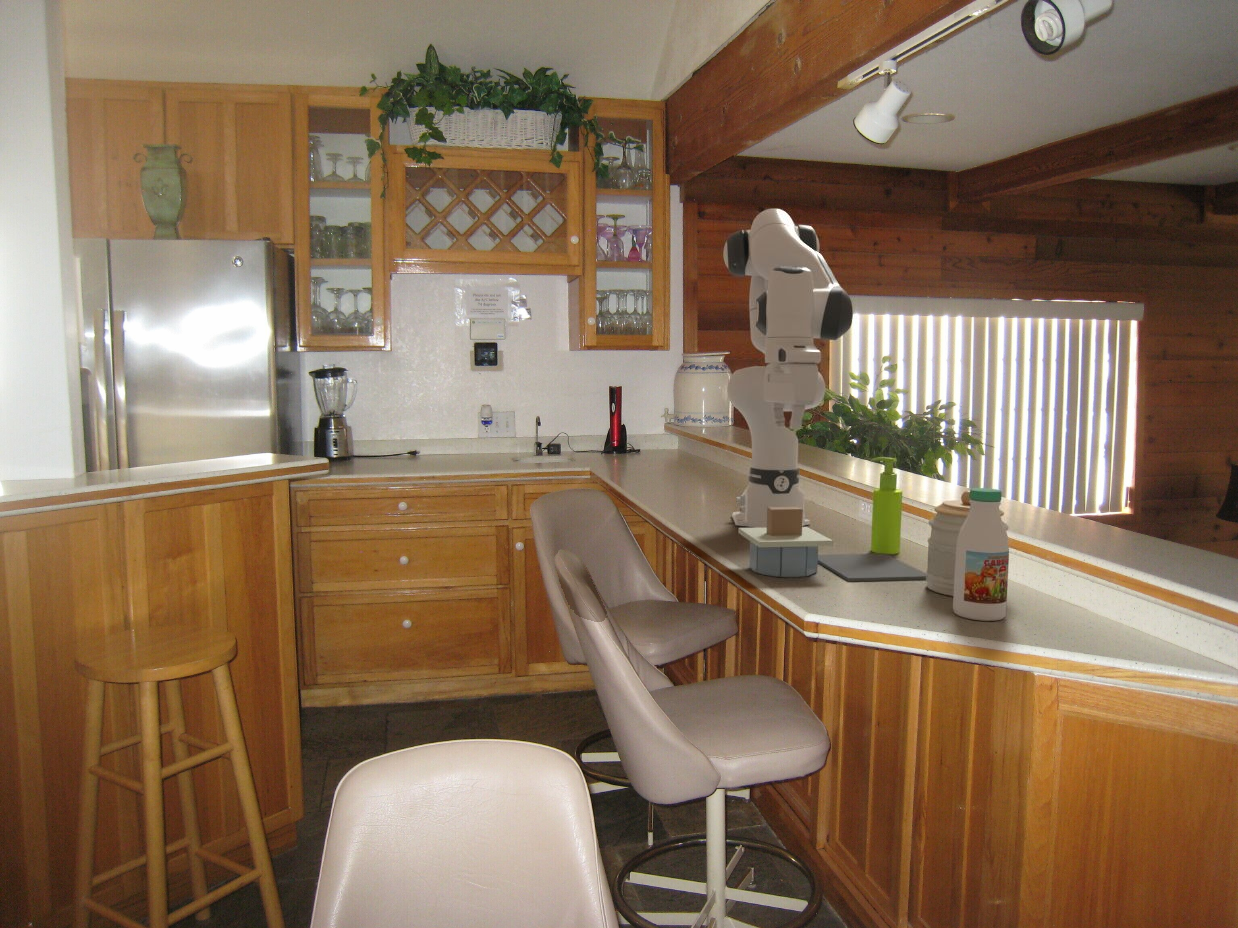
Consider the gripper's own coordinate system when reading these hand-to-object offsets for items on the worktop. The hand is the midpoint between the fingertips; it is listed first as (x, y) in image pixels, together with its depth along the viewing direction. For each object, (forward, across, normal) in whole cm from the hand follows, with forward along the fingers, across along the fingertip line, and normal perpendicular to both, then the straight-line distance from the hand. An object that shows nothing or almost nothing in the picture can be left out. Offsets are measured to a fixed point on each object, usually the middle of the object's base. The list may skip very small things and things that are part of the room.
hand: (787, 427), depth 163 cm
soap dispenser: (+28, -15, +27) cm, 41 cm away
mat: (+27, 0, +17) cm, 32 cm away
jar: (+28, +18, +27) cm, 43 cm away
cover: (+21, 0, 0) cm, 21 cm away
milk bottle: (+28, +33, +21) cm, 48 cm away
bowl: (+27, 0, 0) cm, 27 cm away
